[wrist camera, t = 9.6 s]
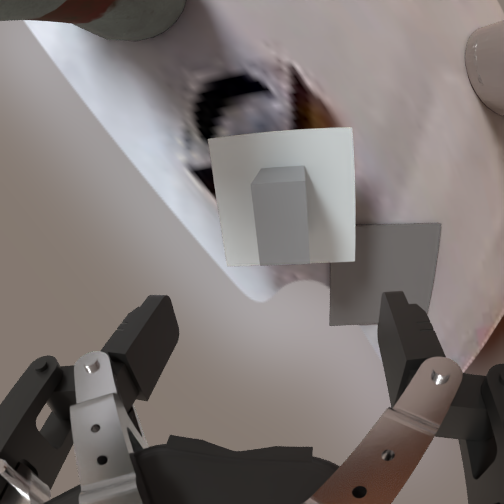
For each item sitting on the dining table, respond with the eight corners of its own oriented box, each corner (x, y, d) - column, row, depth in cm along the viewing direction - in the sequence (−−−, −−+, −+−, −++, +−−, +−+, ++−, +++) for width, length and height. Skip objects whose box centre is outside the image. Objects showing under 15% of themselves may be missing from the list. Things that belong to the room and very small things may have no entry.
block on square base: (350, 127, 20) (366, 132, 15) (353, 258, 24) (365, 296, 19) (210, 138, 22) (183, 147, 17) (228, 263, 26) (211, 301, 21)
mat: (439, 222, 27) (441, 224, 27) (425, 317, 31) (425, 319, 31) (329, 226, 29) (330, 227, 29) (329, 323, 33) (329, 325, 33)
